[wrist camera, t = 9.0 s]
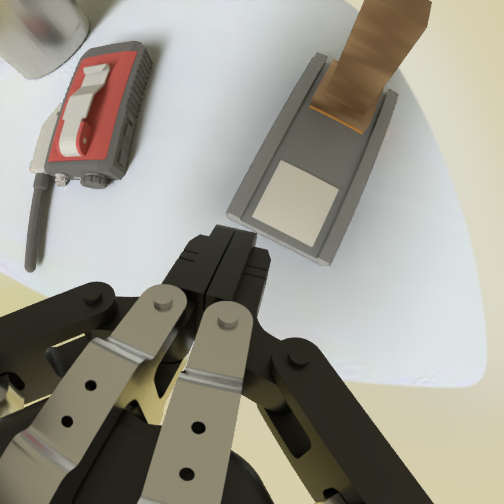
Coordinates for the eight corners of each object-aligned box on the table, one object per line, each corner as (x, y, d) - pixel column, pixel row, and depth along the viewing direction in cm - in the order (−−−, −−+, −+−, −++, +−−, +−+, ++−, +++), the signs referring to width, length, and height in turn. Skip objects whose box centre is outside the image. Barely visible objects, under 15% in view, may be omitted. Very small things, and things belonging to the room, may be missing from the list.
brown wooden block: (310, 104, 18) (349, -6, 8) (330, 67, 18) (369, -35, 8) (363, 132, 18) (437, 42, 8) (379, 92, 18) (442, 4, 8)
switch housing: (228, 218, 20) (224, 210, 17) (308, 71, 21) (314, 51, 18) (323, 266, 20) (335, 266, 17) (387, 112, 20) (402, 96, 18)
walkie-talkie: (79, 62, 21) (31, 270, 20) (59, 38, 17) (-4, 270, 16) (161, 51, 21) (116, 284, 20) (148, 19, 17) (86, 288, 16)
